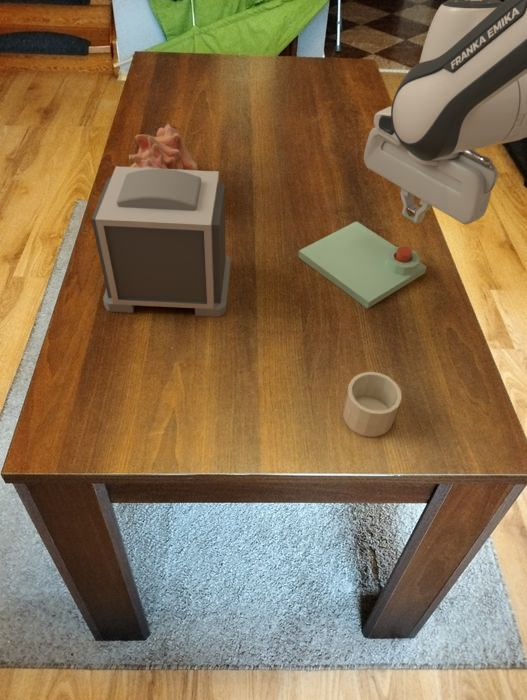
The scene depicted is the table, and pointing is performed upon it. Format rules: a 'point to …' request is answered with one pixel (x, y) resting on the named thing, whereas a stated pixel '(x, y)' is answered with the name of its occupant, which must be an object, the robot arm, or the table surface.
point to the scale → (361, 263)
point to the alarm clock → (163, 240)
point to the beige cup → (371, 404)
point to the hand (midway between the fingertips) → (412, 218)
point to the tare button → (403, 254)
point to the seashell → (163, 151)
